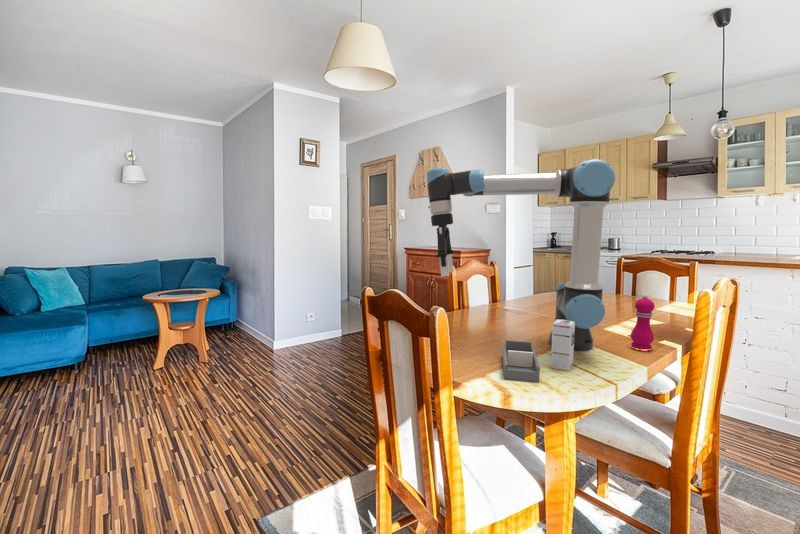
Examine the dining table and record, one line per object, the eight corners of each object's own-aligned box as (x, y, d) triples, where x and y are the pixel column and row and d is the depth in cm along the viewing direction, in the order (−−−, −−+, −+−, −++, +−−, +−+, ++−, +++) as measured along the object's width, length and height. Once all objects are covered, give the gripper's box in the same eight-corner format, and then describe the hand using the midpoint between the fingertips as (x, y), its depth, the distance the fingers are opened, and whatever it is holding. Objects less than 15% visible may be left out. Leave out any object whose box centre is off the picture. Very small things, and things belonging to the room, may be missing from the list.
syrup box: (570, 371, 124) (572, 324, 122) (549, 367, 127) (552, 322, 125) (573, 366, 129) (576, 321, 127) (553, 362, 132) (556, 318, 130)
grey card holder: (502, 356, 137) (503, 339, 136) (532, 359, 134) (533, 342, 134) (504, 379, 117) (504, 359, 117) (539, 382, 115) (540, 362, 114)
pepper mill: (651, 347, 149) (656, 293, 146) (654, 353, 142) (659, 296, 140) (628, 344, 152) (632, 291, 150) (630, 350, 145) (634, 295, 143)
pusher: (506, 359, 131) (507, 345, 131) (530, 361, 130) (531, 347, 129) (507, 365, 126) (507, 351, 125) (532, 367, 124) (533, 353, 123)
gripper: (435, 216, 156) (441, 271, 157) (424, 213, 131) (431, 279, 133) (455, 213, 154) (461, 269, 155) (448, 211, 130) (454, 277, 131)
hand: (447, 274), depth 144 cm, fingers open, 13 cm apart
